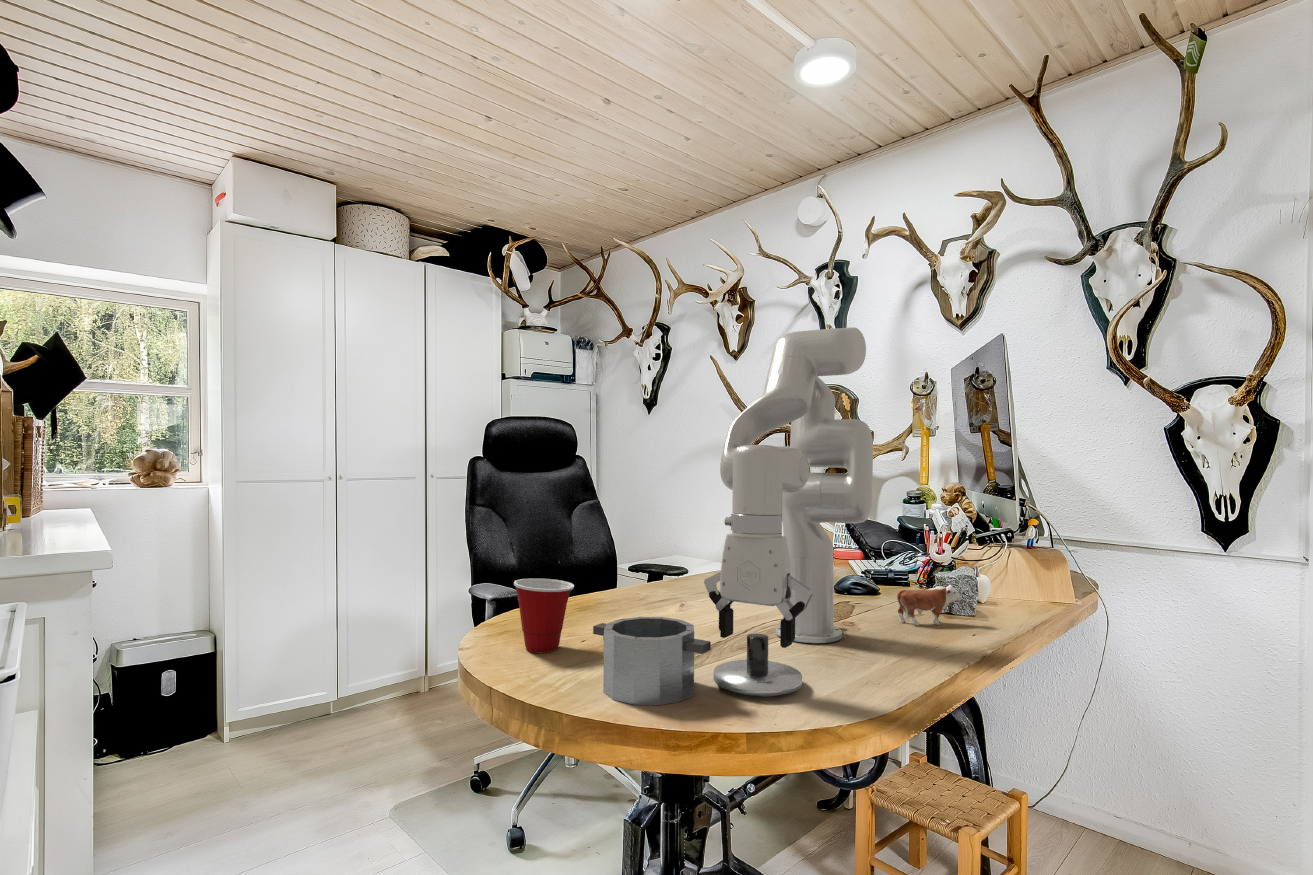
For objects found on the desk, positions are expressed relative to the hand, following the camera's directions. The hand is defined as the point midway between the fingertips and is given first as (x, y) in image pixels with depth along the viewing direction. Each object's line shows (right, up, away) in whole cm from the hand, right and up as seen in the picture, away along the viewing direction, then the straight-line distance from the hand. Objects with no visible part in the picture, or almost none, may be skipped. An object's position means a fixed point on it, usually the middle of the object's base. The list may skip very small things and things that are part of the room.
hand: (755, 640), depth 98 cm
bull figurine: (+42, -9, +39) cm, 58 cm away
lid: (0, -7, 0) cm, 7 cm away
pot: (-16, -7, -1) cm, 17 cm away
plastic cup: (-35, -8, +19) cm, 41 cm away
